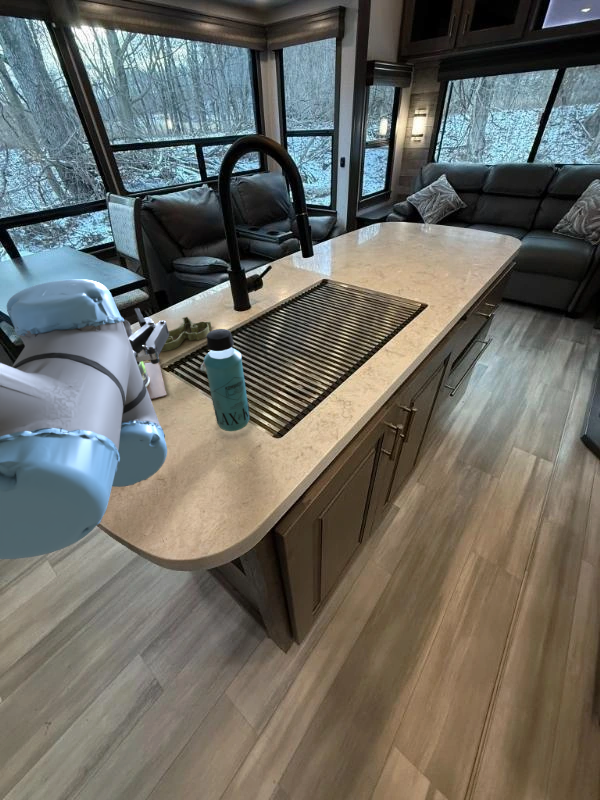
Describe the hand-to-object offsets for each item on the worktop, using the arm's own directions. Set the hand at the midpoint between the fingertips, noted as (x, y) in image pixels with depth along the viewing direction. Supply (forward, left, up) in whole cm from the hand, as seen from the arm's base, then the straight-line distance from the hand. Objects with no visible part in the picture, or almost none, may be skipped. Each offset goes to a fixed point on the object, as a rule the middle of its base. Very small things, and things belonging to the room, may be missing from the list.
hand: (97, 323), depth 57 cm
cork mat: (-1, +10, -19) cm, 22 cm away
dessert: (+20, +9, -19) cm, 29 cm away
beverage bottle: (+18, -14, -19) cm, 30 cm away
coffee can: (-1, +10, -19) cm, 22 cm away
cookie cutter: (+14, +29, -19) cm, 37 cm away
